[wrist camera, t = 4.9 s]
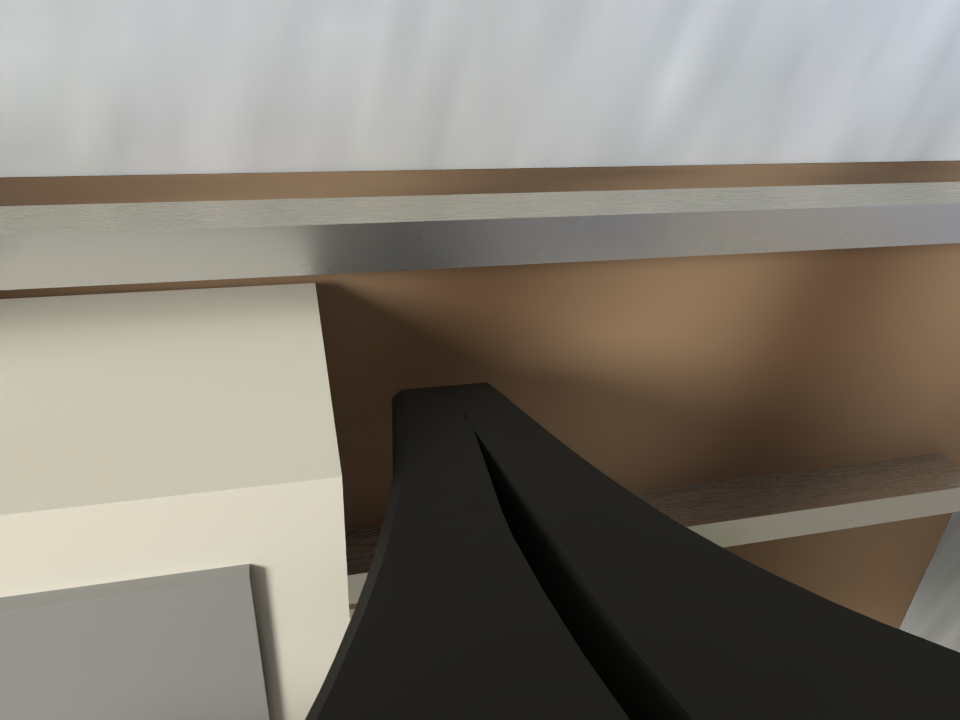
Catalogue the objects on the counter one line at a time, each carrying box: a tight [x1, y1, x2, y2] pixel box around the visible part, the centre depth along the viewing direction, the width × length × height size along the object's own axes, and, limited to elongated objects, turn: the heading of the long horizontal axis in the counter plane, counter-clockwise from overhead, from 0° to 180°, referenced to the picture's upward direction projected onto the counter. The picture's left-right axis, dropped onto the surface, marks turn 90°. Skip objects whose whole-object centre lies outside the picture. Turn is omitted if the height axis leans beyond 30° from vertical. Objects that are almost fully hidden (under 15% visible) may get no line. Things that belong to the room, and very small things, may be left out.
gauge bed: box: [0, 161, 960, 629], centre depth 13 cm, size 22×11×1 cm, turn 88°
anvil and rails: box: [0, 182, 960, 604], centre depth 9 cm, size 21×6×4 cm, turn 88°
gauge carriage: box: [0, 283, 350, 720], centre depth 9 cm, size 4×8×4 cm, turn 178°
